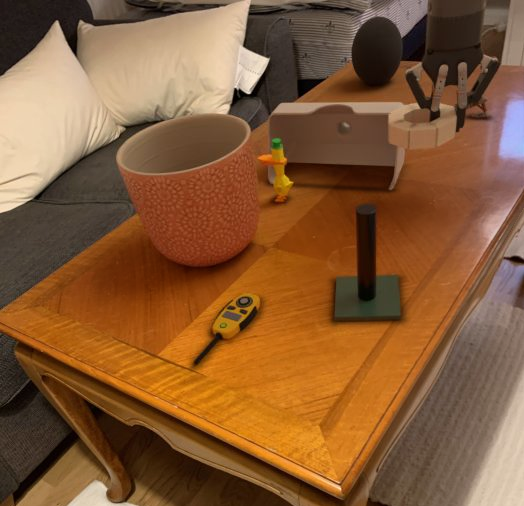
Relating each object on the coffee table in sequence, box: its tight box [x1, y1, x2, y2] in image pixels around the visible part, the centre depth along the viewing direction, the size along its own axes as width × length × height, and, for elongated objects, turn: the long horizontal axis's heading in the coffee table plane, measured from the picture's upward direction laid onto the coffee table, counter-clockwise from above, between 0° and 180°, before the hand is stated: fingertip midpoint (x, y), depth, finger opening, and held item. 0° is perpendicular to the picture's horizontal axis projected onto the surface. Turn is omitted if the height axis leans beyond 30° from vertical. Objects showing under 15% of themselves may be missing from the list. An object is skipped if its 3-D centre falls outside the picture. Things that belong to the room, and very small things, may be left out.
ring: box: [388, 102, 457, 151], centre depth 82 cm, size 11×11×3 cm
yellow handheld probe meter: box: [193, 292, 261, 365], centre depth 74 cm, size 5×2×15 cm
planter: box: [115, 112, 260, 268], centre depth 85 cm, size 21×21×19 cm
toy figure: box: [256, 138, 295, 203], centre depth 95 cm, size 7×4×12 cm, turn 64°
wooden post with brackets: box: [453, 96, 490, 119], centre depth 110 cm, size 2×8×4 cm, turn 50°
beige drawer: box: [267, 101, 406, 191], centre depth 100 cm, size 25×16×12 cm, turn 68°
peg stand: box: [333, 203, 402, 322], centre depth 70 cm, size 9×9×15 cm
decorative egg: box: [350, 16, 404, 86], centre depth 127 cm, size 12×12×15 cm
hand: (445, 130), depth 83 cm, fingers closed on ring, 2 cm apart
